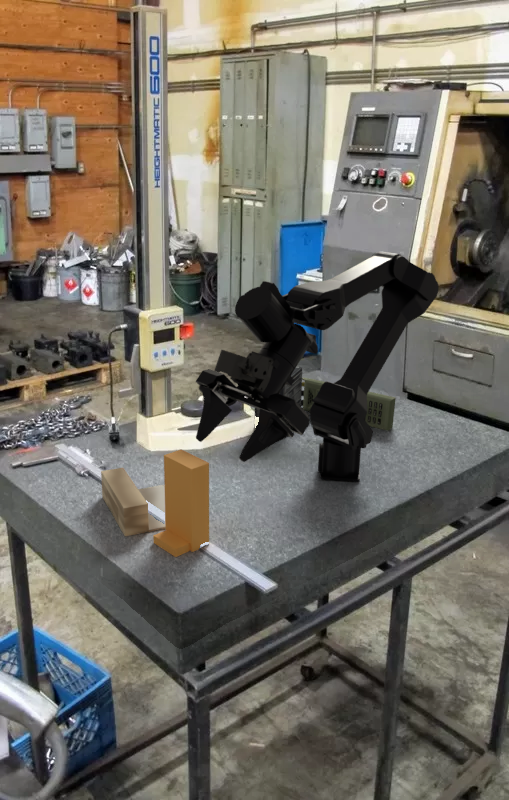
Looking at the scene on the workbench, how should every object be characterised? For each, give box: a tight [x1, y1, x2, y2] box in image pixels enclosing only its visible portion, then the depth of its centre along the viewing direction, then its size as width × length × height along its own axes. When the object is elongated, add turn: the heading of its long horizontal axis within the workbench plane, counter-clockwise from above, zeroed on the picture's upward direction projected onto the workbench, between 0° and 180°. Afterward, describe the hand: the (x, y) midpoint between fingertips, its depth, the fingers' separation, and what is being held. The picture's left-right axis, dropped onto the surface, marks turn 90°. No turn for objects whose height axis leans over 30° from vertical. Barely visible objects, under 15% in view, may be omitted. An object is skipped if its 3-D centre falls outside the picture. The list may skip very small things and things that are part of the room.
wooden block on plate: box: [100, 467, 166, 537], centre depth 115 cm, size 10×13×4 cm
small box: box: [254, 365, 303, 417], centre depth 149 cm, size 11×6×10 cm, turn 157°
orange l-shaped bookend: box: [153, 449, 210, 558], centre depth 104 cm, size 6×6×12 cm
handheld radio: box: [301, 377, 397, 432], centre depth 153 cm, size 7×3×25 cm
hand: (219, 450), depth 107 cm, fingers open, 9 cm apart
